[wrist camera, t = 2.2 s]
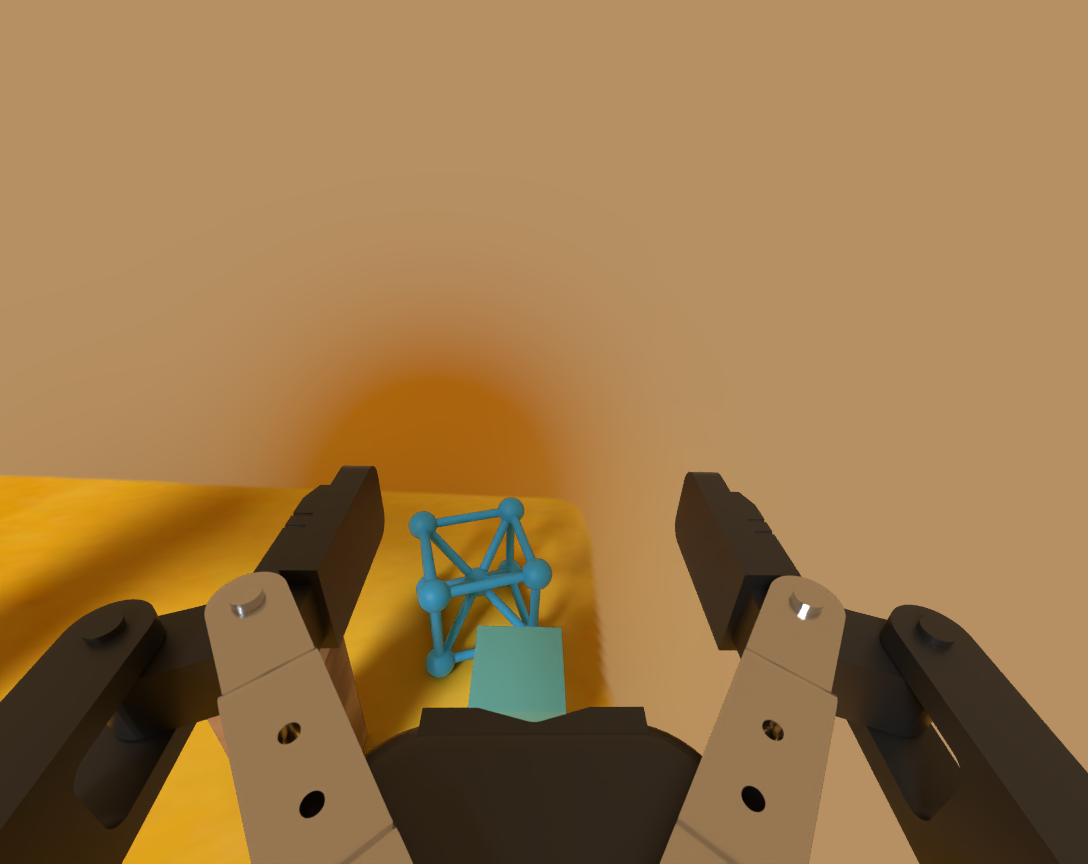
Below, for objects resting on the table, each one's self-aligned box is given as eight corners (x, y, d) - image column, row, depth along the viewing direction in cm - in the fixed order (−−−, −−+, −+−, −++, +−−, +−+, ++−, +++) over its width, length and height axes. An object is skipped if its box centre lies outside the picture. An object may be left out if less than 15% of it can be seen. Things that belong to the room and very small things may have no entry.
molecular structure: (517, 569, 48) (520, 490, 43) (548, 655, 40) (557, 571, 35) (416, 589, 45) (406, 508, 40) (428, 687, 37) (418, 600, 32)
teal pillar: (551, 817, 30) (566, 712, 24) (472, 817, 30) (467, 710, 24) (549, 734, 35) (561, 627, 29) (480, 734, 34) (477, 625, 28)
